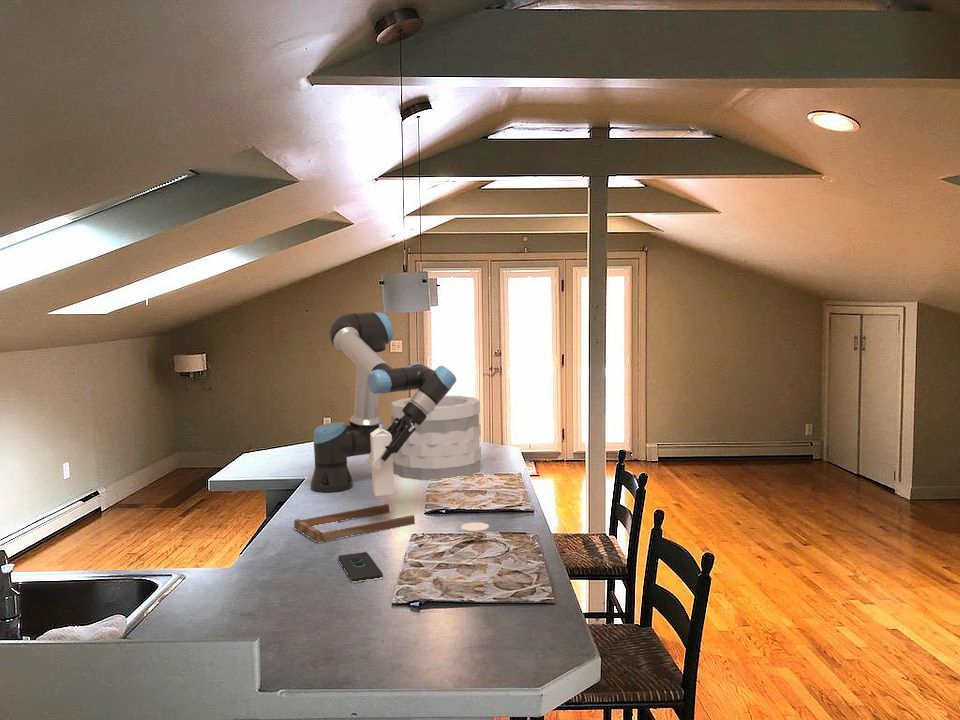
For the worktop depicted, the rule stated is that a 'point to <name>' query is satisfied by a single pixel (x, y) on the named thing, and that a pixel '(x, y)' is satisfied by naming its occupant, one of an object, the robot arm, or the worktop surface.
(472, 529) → the hand towel holder
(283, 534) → the worktop surface
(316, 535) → the bay
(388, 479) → the milk
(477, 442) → the storage basket
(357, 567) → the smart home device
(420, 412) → the robot arm
